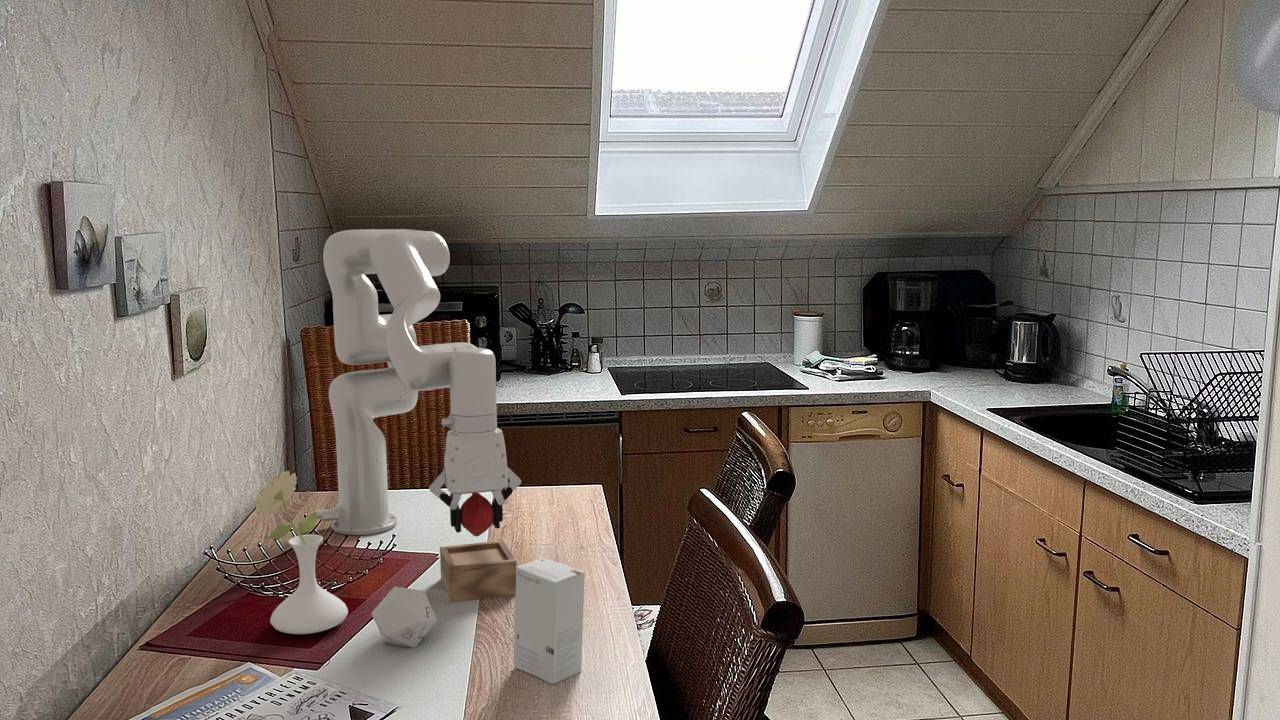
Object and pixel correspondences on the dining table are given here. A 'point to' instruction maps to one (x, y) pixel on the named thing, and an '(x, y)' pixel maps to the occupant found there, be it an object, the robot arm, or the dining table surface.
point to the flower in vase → (300, 568)
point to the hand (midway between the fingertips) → (476, 527)
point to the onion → (477, 514)
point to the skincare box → (548, 620)
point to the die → (404, 616)
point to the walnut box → (478, 571)
